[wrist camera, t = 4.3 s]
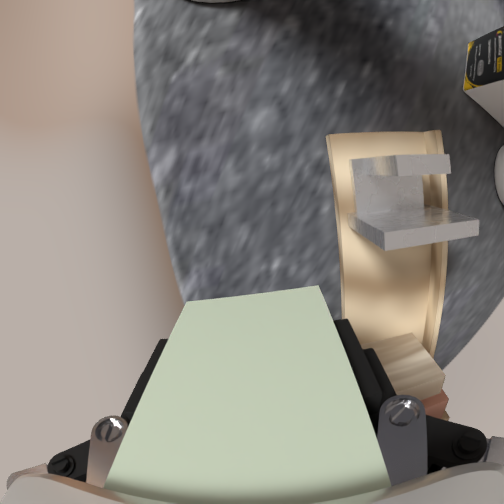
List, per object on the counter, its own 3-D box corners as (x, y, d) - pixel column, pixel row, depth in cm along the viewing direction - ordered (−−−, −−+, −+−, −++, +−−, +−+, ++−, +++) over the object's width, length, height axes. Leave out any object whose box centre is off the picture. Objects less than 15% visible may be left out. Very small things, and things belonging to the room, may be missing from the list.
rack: (325, 136, 20) (367, 114, 11) (422, 133, 20) (492, 122, 11) (341, 385, 26) (361, 452, 18) (416, 366, 26) (451, 421, 17)
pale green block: (186, 301, 12) (98, 499, 3) (318, 285, 11) (395, 499, 3) (208, 372, 13) (170, 545, 4) (321, 360, 13) (361, 539, 4)
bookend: (341, 160, 19) (377, 155, 13) (422, 155, 19) (476, 154, 12) (348, 226, 21) (384, 251, 14) (426, 216, 20) (478, 235, 13)
